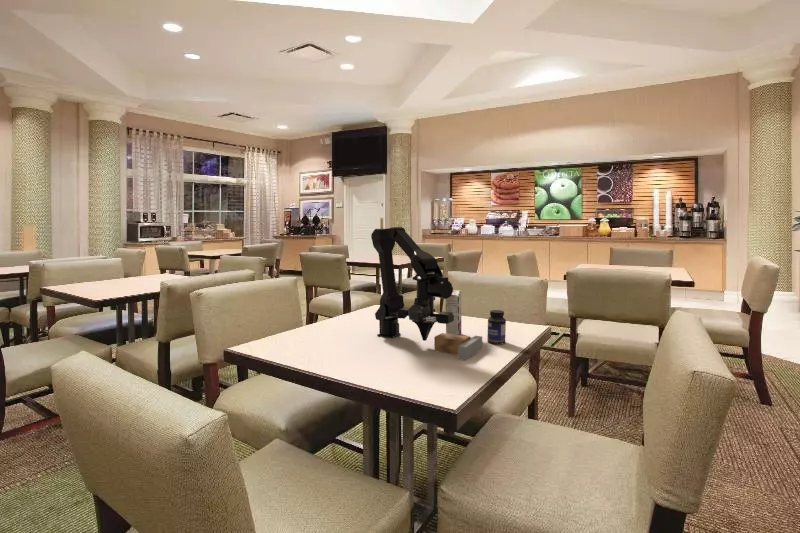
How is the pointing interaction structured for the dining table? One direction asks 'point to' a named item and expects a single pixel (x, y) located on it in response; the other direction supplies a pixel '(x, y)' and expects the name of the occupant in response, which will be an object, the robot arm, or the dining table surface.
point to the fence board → (469, 347)
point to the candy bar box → (454, 313)
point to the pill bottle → (496, 327)
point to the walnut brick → (449, 343)
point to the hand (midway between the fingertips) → (424, 340)
